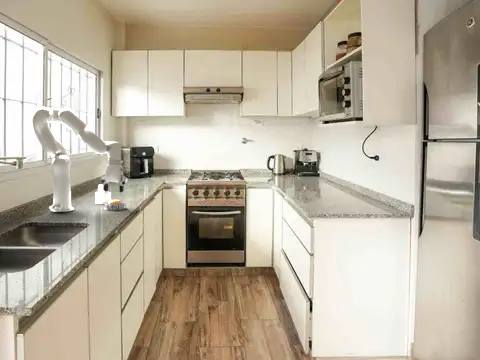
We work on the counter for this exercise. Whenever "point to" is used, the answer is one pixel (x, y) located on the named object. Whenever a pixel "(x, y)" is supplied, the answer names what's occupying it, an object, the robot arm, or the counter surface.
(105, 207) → the faceted metal bowl
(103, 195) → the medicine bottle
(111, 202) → the pale yellow rounded lump
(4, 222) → the counter surface
